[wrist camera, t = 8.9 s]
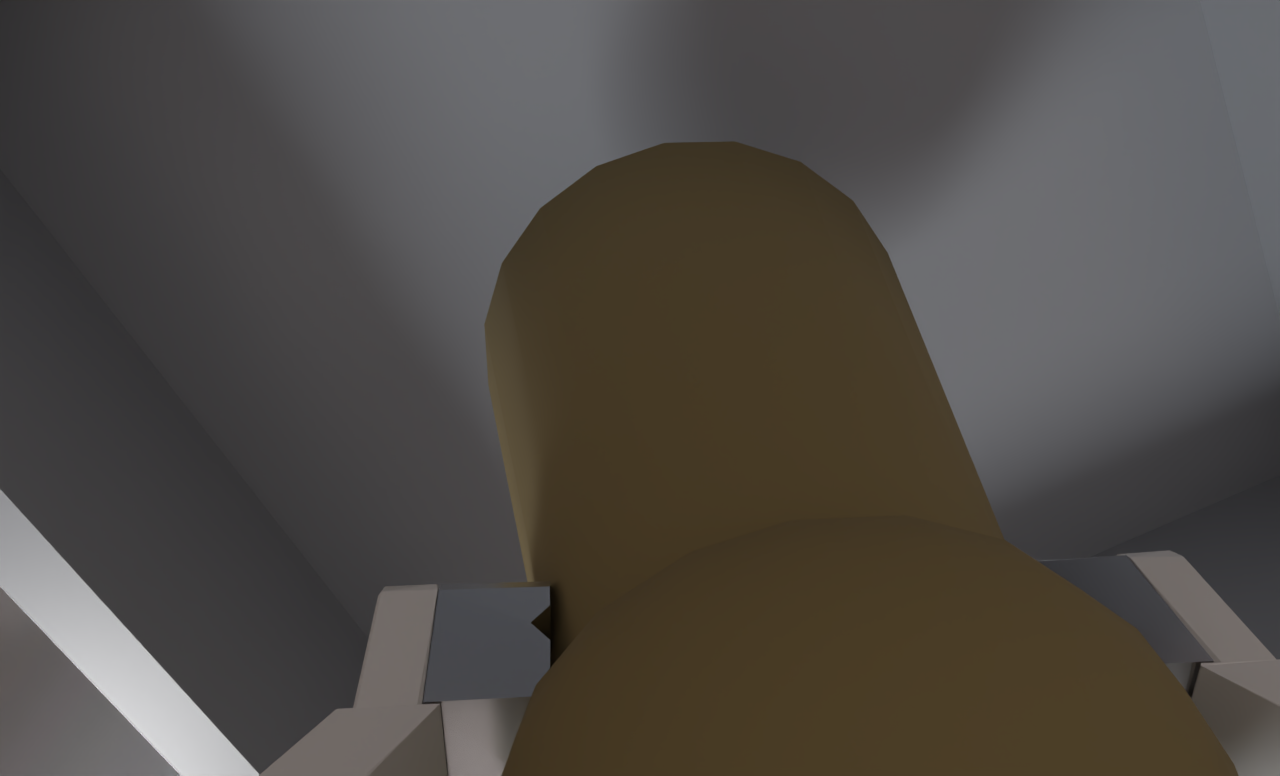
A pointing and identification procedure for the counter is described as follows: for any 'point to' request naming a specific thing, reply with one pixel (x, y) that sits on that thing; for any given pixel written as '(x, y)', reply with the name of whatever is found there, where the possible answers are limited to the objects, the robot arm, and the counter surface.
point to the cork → (778, 508)
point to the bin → (487, 231)
